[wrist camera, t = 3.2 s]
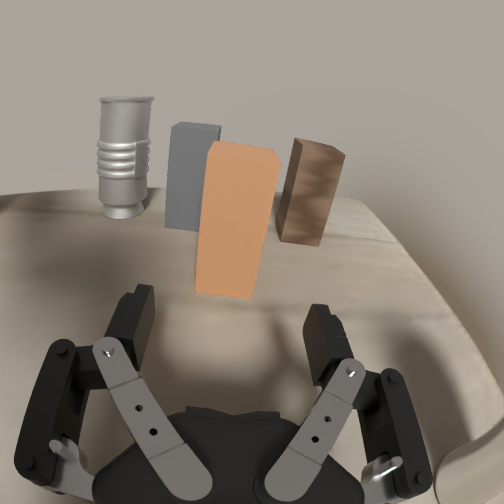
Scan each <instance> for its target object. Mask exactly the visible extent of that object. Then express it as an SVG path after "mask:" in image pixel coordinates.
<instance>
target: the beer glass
mask: <svg viewBox="0 0 504 504" xmlns="http://www.w3.org/2000/svg"><path fill="white" fill-rule="evenodd" d="M435 490H436V495H437V498H438V501H439V503H440V504H485V503H486V502H488V501H489V500H491V499H492V498H494V497H495V496H497V495H499V494H501V493H502V492H504V414H503V415H502V416H501V417H500V418H499V419H498V420H497V421H496V423H495V424H494V425H493V426H492V427H491V428H490V429H488V430H487V431H486V432H485V433H484V434H482V435H481V436H480V437H478V438H477V439H475V440H473V441H472V442H470V443H467V444H465V445H463V446H460V447H458V448H456V449H454V450H452V451H451V452H449V453H448V454H447V455H446V456H445V457H444V458H443V460H442V461H441V463H440V465H439V467H438V470H437V473H436V479H435Z"/></svg>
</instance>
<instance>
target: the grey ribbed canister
mask: <svg viewBox="0 0 504 504" xmlns="http://www.w3.org/2000/svg"><path fill="white" fill-rule="evenodd" d="M153 100H154V96H112V97H102V98H100V102H101V103H102V104H101V119H100V140H98V142H97V146H98V147H99V149H98V151H97V156H98V157H99V158H98V159H97V165H98V168H97V174H98V175H99V194H98V198H99V200H100V201H101V202H103V203H105V204H104V207H103V210H102V213H103V214H104V215H105V216H106V217H109V218H113V219H128V218H132V217H135V216H138V215H140V214H141V213H142V212H143V211H144V206H143V204H142V202H141V201H142V200H144V199H145V198H146V197H147V177H146V173H147V172H148V170H149V167H148V164H147V163H148V162H149V157H148V154H149V152H150V149H149V147H148V145H149V144H150V139H149V138H148V133H149V122H150V110H151V102H152V101H153Z"/></svg>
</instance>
